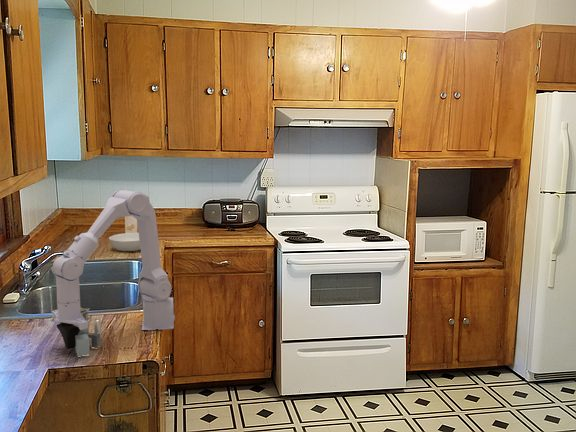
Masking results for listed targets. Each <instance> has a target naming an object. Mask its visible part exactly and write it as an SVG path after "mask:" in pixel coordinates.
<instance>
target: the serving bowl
mask: <svg viewBox="0 0 576 432" xmlns="http://www.w3.org/2000/svg"><path fill="white" fill-rule="evenodd" d="M108 241H109V244H110V245H111V247H112V248H114V249H115V250H118V251H122V252H126V251H133V252H138V250H139V251H141V248H140V240H139V233H118V234H114V235H111V236H109V238H108Z"/></svg>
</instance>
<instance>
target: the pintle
mask: <svg viewBox="0 0 576 432" xmlns="http://www.w3.org/2000/svg"><path fill="white" fill-rule="evenodd" d="M93 330H94V331H93V333H98V334H100V340H101V341H102V320H101V319H100V318H97V319H93Z"/></svg>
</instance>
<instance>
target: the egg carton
mask: <svg viewBox="0 0 576 432" xmlns="http://www.w3.org/2000/svg"><path fill="white" fill-rule="evenodd" d="M90 309H91V308H90V307H89V308H82V307H81V306H80V311H81V315H82V316H83V318H84V319H85V320H86V321H88V320H89V313H88V312H89V310H90ZM55 310H56V309H54V310H53V309H52V308H51V309H50V312H52V311H55ZM54 319H55V318H52V320H53V322H54Z"/></svg>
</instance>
